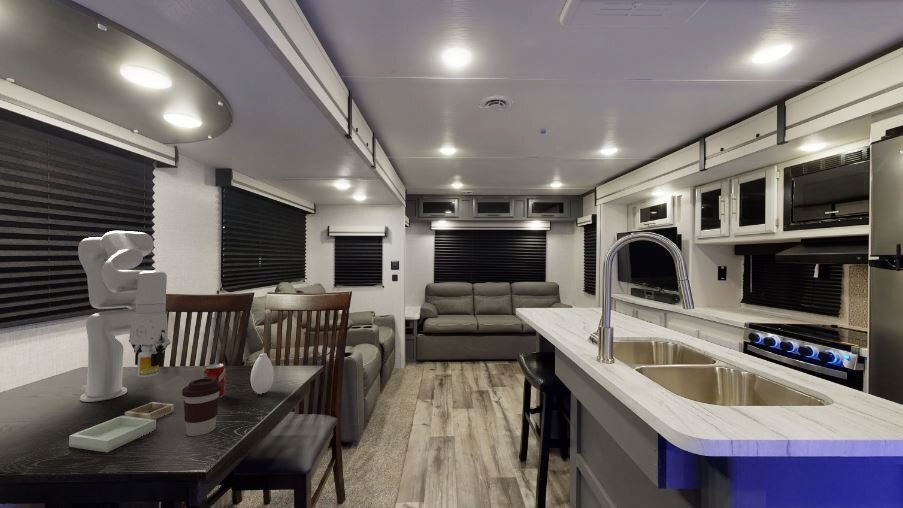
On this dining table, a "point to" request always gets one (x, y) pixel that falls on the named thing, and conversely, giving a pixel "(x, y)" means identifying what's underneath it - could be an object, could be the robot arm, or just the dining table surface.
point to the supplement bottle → (146, 363)
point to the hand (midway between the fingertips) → (148, 364)
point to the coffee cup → (201, 405)
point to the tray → (112, 433)
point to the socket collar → (156, 407)
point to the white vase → (262, 374)
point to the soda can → (216, 375)
